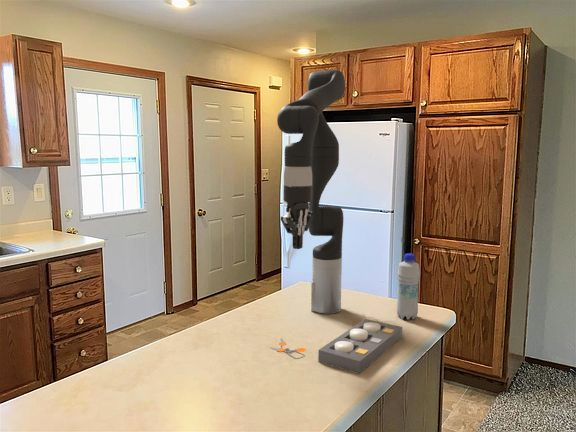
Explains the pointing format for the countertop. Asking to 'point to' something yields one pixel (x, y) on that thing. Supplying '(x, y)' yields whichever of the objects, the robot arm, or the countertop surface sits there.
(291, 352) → the key chain
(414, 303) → the bottle
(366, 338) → the button middle
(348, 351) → the button front
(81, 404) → the countertop surface
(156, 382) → the countertop surface
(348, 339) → the panel
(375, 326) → the button back
